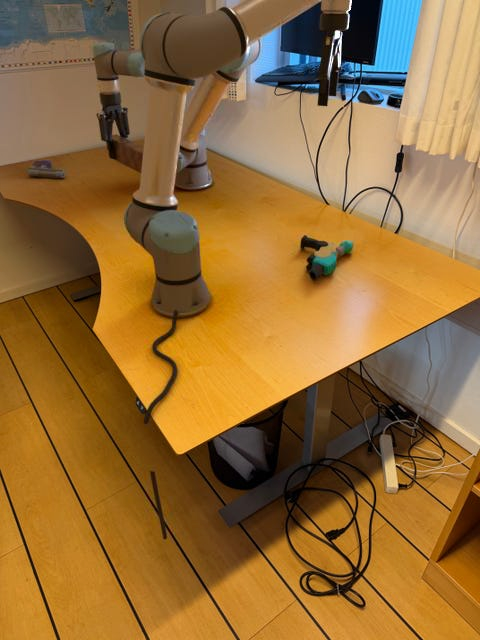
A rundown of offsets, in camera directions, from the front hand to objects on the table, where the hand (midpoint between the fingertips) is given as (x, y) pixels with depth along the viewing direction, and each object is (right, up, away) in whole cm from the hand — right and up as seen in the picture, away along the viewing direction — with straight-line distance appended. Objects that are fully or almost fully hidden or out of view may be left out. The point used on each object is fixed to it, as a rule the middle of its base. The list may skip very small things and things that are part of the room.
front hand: (327, 100), depth 136 cm
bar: (-66, -3, +46) cm, 81 cm away
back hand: (-73, +1, +50) cm, 88 cm away
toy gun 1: (-108, +2, +73) cm, 131 cm away
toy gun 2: (-2, -46, +6) cm, 46 cm away
